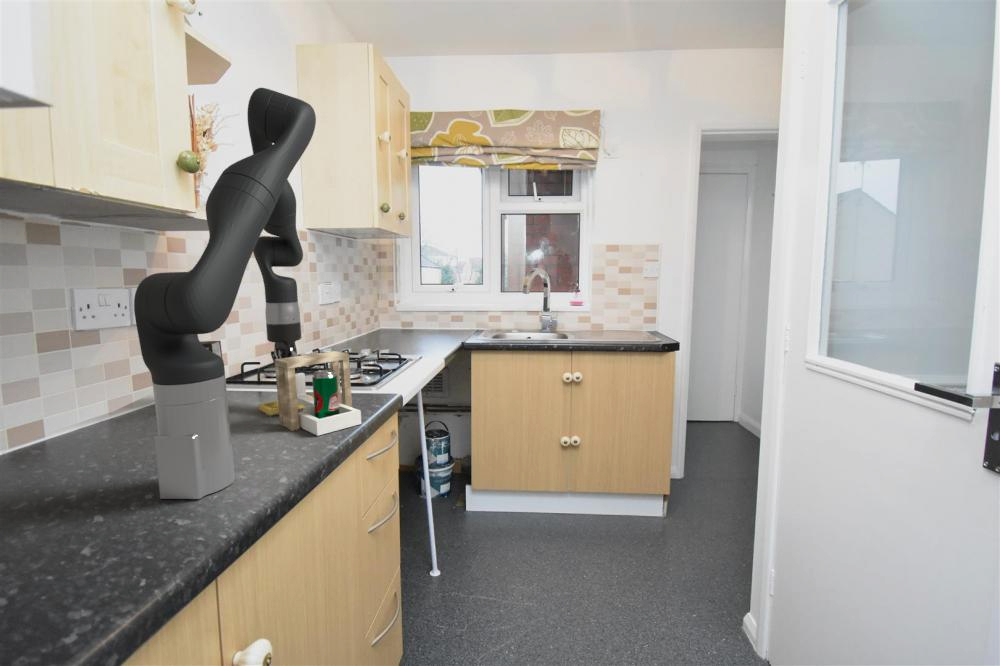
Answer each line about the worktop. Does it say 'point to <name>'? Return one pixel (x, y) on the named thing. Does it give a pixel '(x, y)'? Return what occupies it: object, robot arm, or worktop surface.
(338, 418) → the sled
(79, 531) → the worktop surface
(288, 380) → the tunnel
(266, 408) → the yellow rectangular frame
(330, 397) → the soda can
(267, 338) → the robot arm
